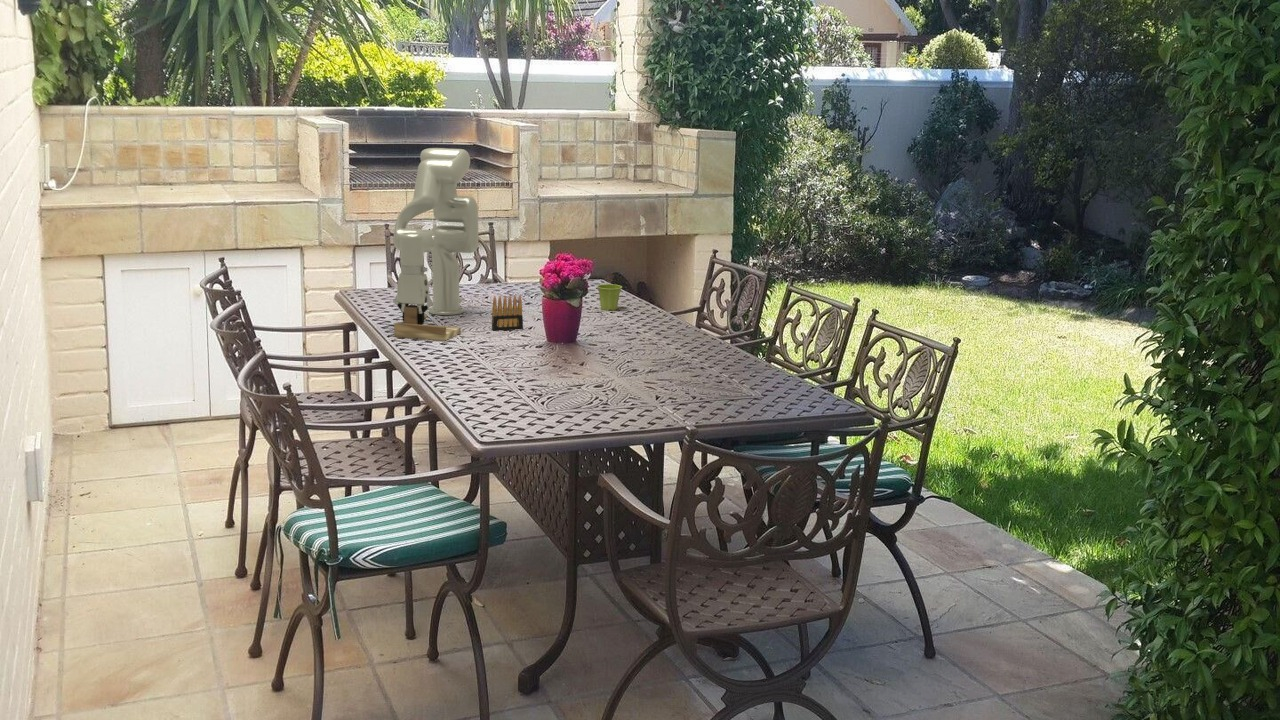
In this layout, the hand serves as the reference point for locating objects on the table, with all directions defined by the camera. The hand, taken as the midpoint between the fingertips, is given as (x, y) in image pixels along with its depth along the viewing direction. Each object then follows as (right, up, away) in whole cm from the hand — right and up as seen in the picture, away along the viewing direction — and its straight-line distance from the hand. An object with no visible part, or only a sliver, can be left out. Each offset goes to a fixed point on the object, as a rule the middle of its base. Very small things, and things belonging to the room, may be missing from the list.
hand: (413, 323), depth 427 cm
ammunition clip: (+30, -2, +10) cm, 32 cm away
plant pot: (+64, +7, +51) cm, 82 cm away
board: (+5, -4, -1) cm, 7 cm away
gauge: (+1, 0, +3) cm, 4 cm away
